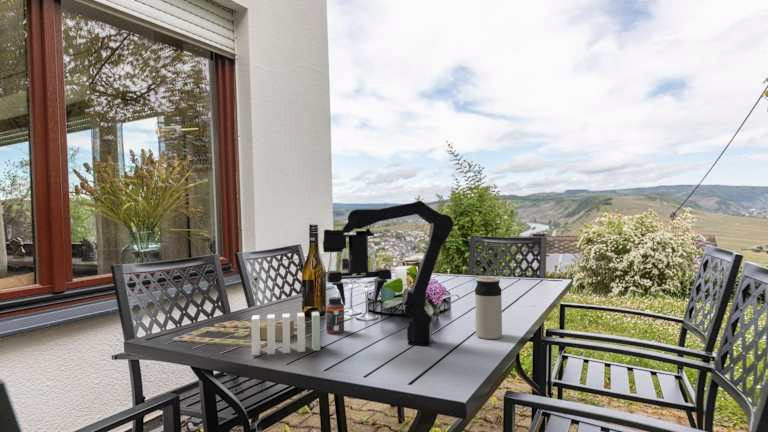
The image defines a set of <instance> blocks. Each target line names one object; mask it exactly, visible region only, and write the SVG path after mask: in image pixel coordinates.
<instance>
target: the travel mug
mask: <svg viewBox="0 0 768 432" xmlns="http://www.w3.org/2000/svg"><path fill="white" fill-rule="evenodd" d="M475 281H476V286H475V288H474V295H475V297H474V298H475V299H474V301H475V302H474V304H475V306H474V307H475V309H474V310H475V312H474V313H475V336H476V337H478V338H479V339H484V340H498V339H500V338H502V337H503V323H502V322H503V319H502V317H503V313H502V312H503V311H502V310H503V309H502V308H503V306H502V305H503V304H502V302H503V299H502V288H501V286H500V281H501V278H499V277H493V276H481V277H479V276H478V277H476V278H475Z"/></svg>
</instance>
